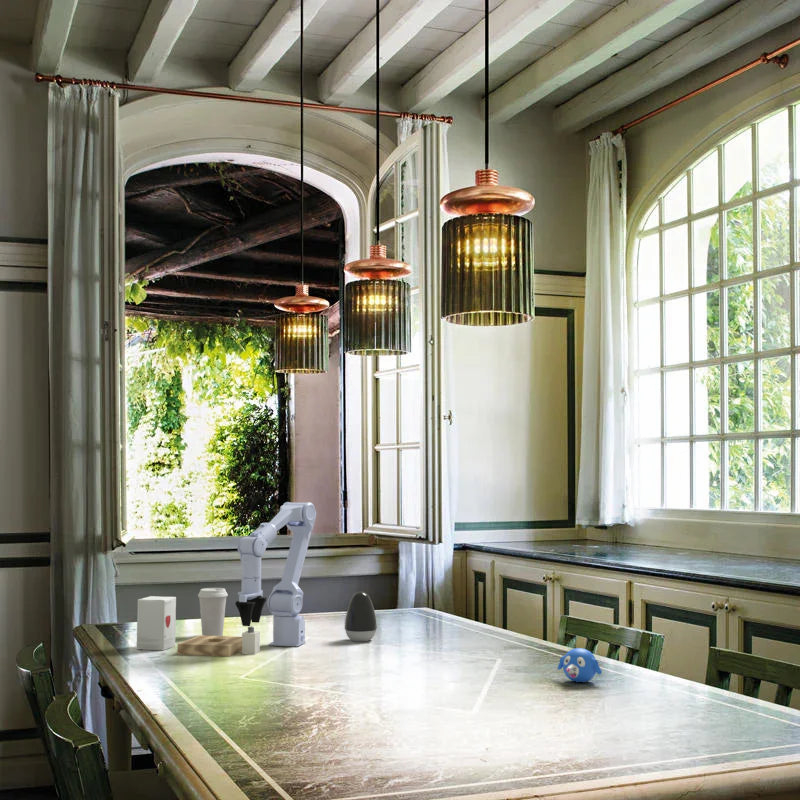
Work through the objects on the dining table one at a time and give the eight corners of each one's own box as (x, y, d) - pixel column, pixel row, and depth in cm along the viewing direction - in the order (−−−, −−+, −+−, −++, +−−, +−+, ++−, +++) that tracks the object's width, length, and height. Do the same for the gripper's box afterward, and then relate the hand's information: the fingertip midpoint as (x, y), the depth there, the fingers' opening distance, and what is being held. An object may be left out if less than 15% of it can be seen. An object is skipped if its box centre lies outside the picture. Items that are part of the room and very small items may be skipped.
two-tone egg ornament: (378, 637, 331) (378, 589, 332) (374, 643, 320) (374, 593, 321) (347, 637, 332) (347, 589, 333) (342, 642, 321) (342, 593, 322)
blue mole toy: (544, 684, 259) (544, 650, 259) (565, 676, 268) (564, 643, 269) (589, 690, 252) (589, 655, 252) (608, 682, 262) (608, 648, 262)
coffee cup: (224, 638, 330) (224, 591, 331) (194, 638, 330) (195, 591, 331) (229, 633, 339) (230, 587, 340) (200, 633, 340) (201, 587, 341)
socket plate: (249, 647, 314) (249, 637, 314) (229, 656, 298) (229, 645, 299) (199, 645, 318) (199, 635, 318) (177, 654, 302) (177, 643, 302)
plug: (259, 652, 306) (259, 626, 306) (254, 654, 302) (255, 628, 303) (246, 651, 307) (247, 625, 307) (241, 653, 303) (242, 627, 303)
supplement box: (163, 651, 308) (164, 600, 309) (135, 650, 310) (136, 599, 311) (176, 645, 317) (177, 596, 318) (149, 644, 318) (149, 595, 319)
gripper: (247, 574, 314) (247, 620, 313) (229, 579, 300) (228, 627, 299) (269, 575, 312) (269, 620, 311) (252, 580, 298) (251, 628, 297)
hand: (250, 624), depth 305 cm, fingers open, 7 cm apart
